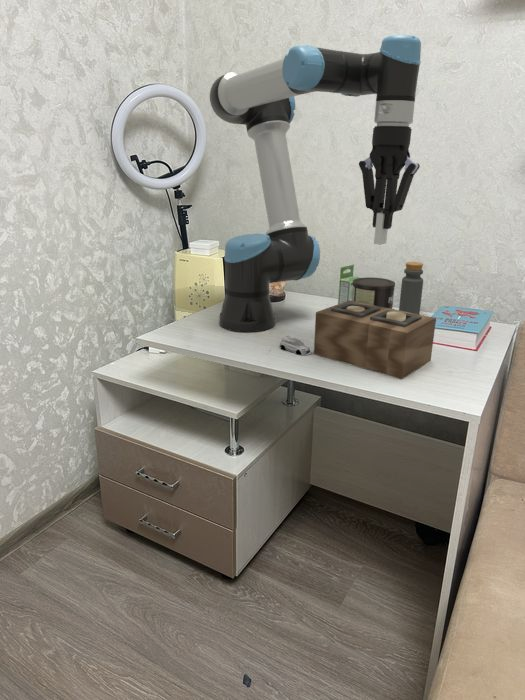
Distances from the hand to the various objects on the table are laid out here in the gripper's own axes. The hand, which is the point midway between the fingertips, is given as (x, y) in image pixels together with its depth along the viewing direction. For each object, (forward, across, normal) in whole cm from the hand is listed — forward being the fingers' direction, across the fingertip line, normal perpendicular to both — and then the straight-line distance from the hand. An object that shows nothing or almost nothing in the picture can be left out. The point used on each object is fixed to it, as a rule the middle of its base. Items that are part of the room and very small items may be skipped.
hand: (379, 243), depth 114 cm
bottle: (+26, -7, +35) cm, 44 cm away
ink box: (+26, -21, +26) cm, 42 cm away
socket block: (+25, +3, -3) cm, 25 cm away
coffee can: (+26, -6, +10) cm, 28 cm away
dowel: (+23, +8, -3) cm, 24 cm away
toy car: (+26, -13, -11) cm, 31 cm away
